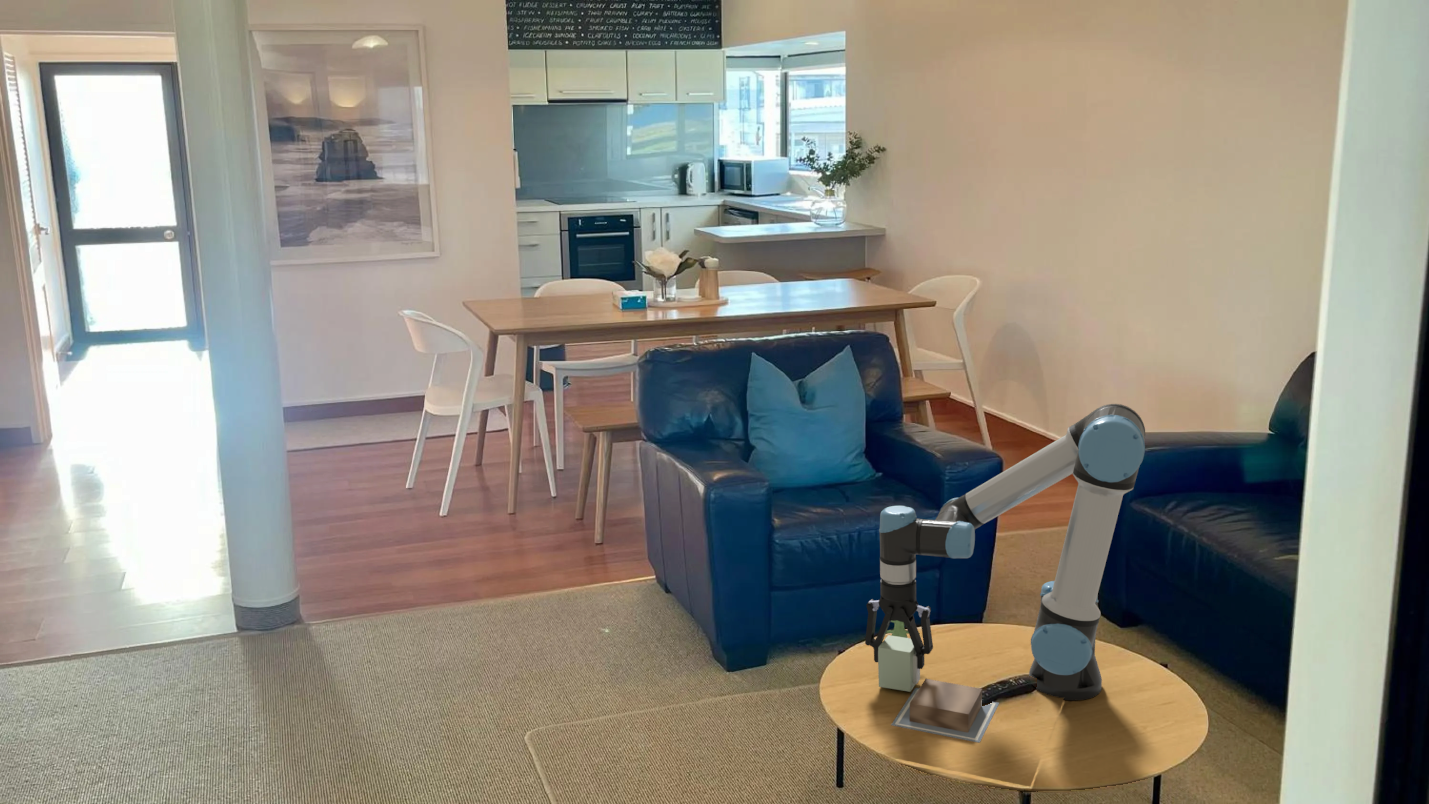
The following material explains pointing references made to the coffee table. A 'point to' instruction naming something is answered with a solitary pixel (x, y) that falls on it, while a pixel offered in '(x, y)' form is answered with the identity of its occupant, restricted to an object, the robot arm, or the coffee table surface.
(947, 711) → the foundation block
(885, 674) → the sage block
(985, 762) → the coffee table surface
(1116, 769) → the coffee table surface
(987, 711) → the grey square plate
